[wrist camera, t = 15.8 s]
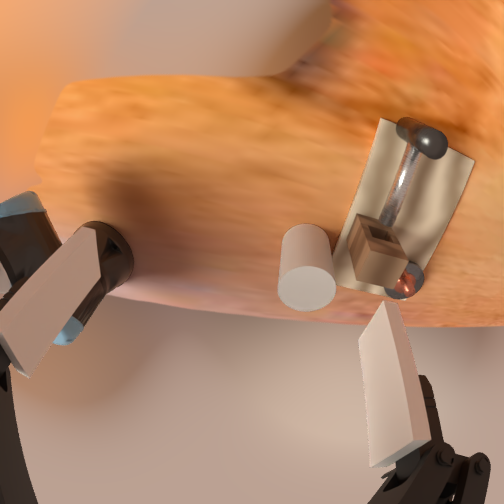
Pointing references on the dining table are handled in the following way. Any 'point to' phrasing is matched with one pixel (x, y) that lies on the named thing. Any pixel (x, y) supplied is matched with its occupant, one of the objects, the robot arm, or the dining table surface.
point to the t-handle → (411, 162)
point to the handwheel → (407, 282)
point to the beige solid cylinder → (306, 269)
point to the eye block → (407, 222)
